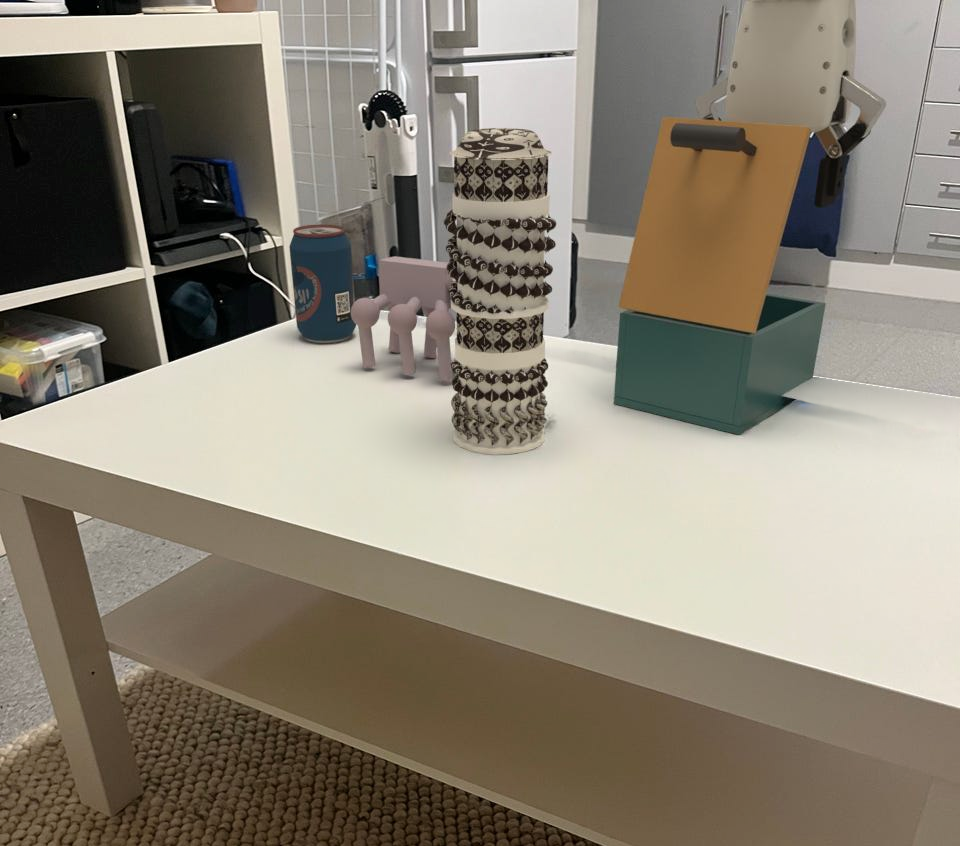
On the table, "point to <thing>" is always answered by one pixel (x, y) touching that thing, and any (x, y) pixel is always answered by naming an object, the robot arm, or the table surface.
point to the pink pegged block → (409, 311)
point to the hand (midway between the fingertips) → (774, 201)
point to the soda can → (322, 283)
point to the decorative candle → (499, 289)
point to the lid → (713, 220)
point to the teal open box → (717, 364)
